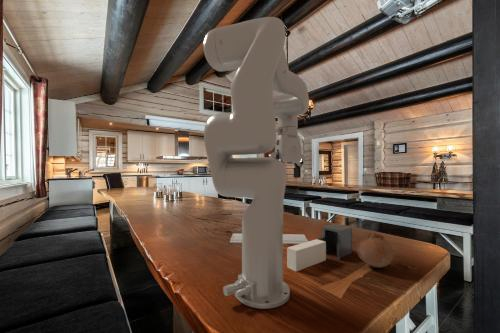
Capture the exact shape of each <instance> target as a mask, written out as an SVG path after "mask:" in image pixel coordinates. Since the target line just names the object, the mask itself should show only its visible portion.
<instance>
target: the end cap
mask: <svg viewBox="0 0 500 333" xmlns="http://www.w3.org/2000/svg"><path fill="white" fill-rule="evenodd" d="M321 227H322V234H321V235H322V237H316V239H318V240H321V241H325V242H326V253H327V252H330V251H333V250H336V261H337V260H338V261H340V260H341V258H344V257H346V256H349V255H352V254H353V227H352V226H346V225H341V224H337V223H332V224H328V225H324V226H321Z"/></svg>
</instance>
